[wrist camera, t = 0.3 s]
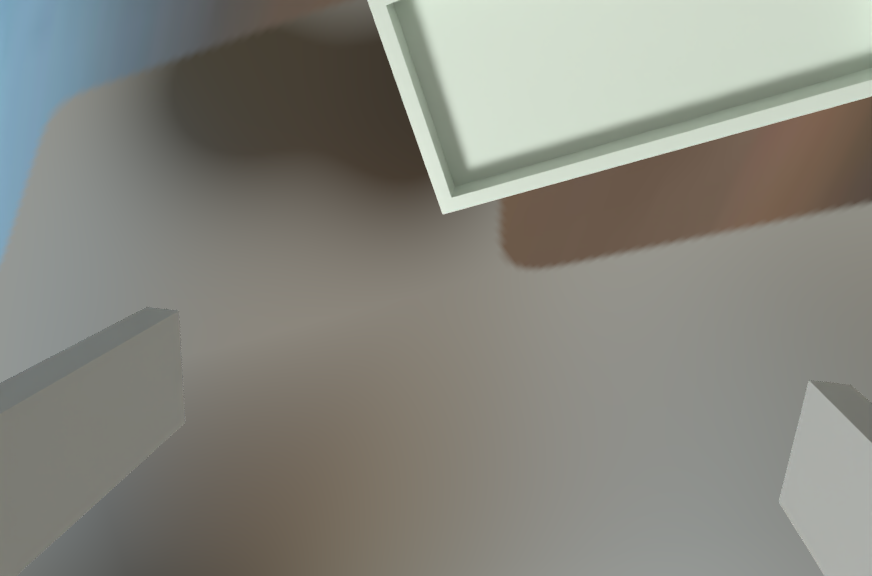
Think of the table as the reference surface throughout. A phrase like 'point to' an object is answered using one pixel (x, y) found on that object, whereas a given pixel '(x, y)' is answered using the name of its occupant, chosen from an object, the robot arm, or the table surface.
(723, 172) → the table surface
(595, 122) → the tray
